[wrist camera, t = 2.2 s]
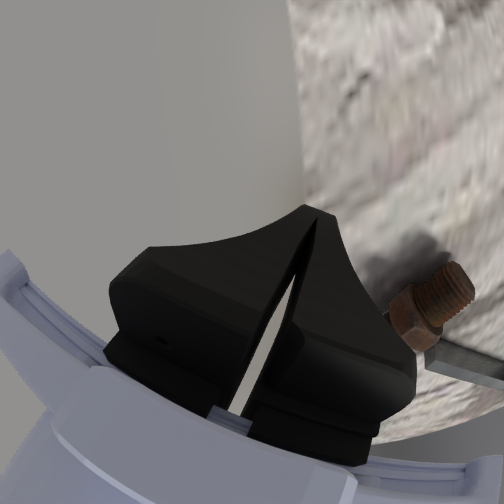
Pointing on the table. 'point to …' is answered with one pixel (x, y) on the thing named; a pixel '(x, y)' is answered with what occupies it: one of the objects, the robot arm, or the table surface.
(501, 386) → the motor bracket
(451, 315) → the bolt
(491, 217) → the table surface
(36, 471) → the robot arm
